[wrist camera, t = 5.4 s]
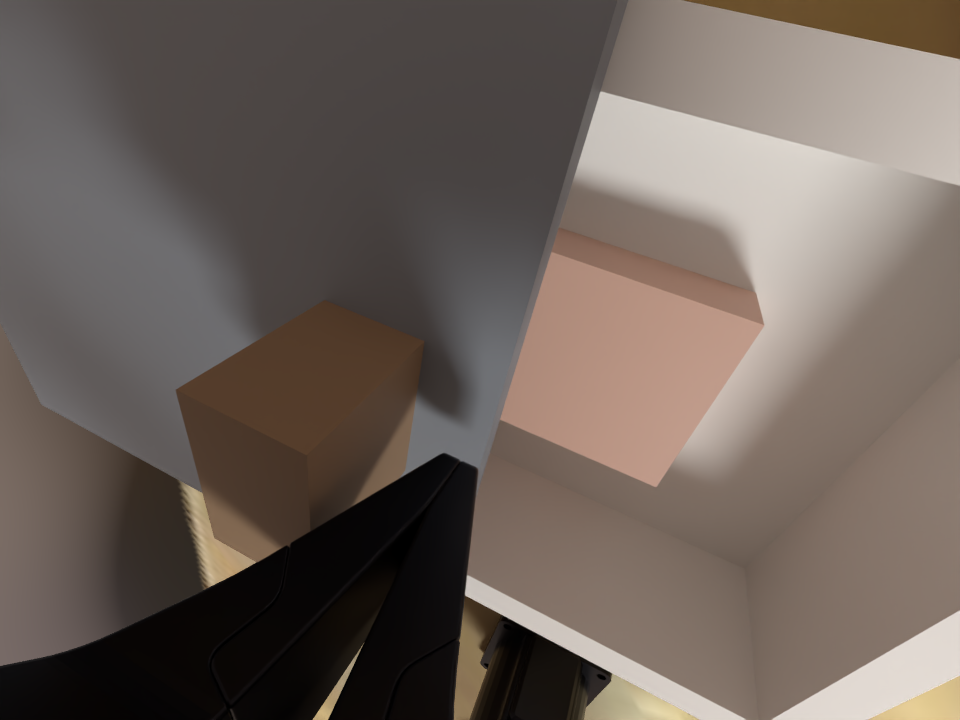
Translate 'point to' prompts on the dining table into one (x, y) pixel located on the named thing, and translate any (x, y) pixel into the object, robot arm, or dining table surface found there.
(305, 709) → the robot arm
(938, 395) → the lidded box
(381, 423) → the lid
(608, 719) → the dining table surface
